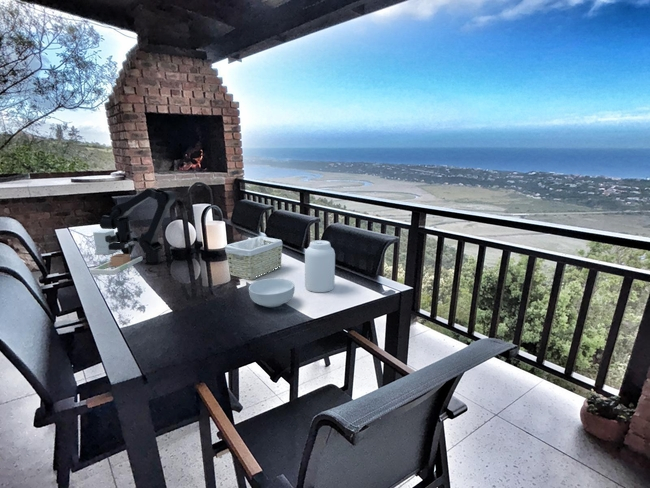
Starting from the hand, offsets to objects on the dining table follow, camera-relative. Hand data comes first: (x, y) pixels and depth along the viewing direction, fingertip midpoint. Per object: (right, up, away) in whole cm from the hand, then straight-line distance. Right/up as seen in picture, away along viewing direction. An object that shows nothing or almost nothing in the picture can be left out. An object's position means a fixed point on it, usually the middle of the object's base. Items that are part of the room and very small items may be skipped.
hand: (127, 258), depth 173 cm
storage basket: (+69, -6, -12) cm, 70 cm away
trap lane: (0, -3, -7) cm, 7 cm away
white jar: (+100, -11, -31) cm, 105 cm away
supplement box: (-21, +3, +16) cm, 27 cm away
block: (0, -3, -4) cm, 5 cm away
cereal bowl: (+82, -15, -47) cm, 96 cm away
